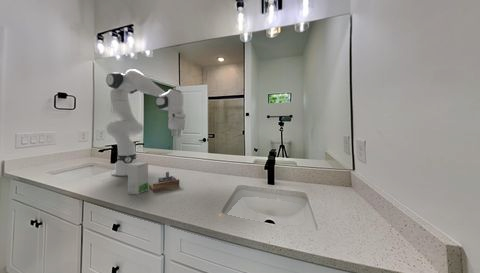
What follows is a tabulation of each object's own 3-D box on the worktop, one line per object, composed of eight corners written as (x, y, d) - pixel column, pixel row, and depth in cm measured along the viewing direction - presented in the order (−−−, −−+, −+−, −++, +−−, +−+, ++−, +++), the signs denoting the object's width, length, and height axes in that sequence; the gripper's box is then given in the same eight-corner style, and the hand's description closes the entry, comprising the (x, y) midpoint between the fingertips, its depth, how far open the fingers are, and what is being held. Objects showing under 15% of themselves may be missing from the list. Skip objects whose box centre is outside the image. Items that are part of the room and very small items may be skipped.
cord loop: (158, 183, 106) (158, 178, 106) (172, 181, 111) (172, 175, 111) (161, 186, 101) (161, 181, 101) (176, 183, 106) (176, 178, 106)
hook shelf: (148, 186, 105) (148, 172, 105) (172, 181, 114) (172, 168, 114) (153, 192, 96) (153, 177, 95) (179, 187, 105) (179, 172, 104)
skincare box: (137, 194, 93) (137, 165, 92) (127, 193, 94) (126, 164, 93) (149, 189, 101) (148, 162, 100) (139, 188, 102) (138, 161, 101)
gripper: (165, 115, 120) (165, 135, 121) (176, 114, 104) (176, 138, 105) (175, 115, 124) (175, 135, 125) (186, 115, 108) (186, 137, 109)
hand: (175, 136), depth 115 cm, fingers open, 8 cm apart
